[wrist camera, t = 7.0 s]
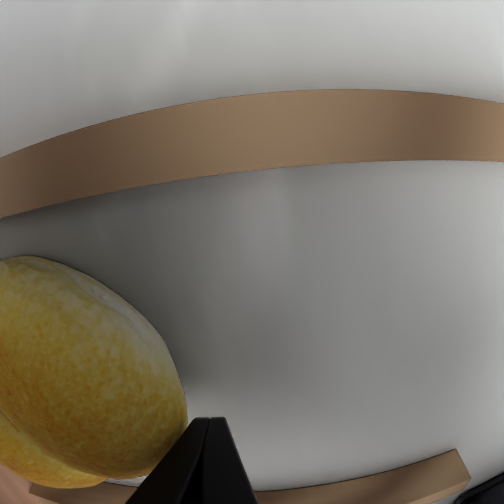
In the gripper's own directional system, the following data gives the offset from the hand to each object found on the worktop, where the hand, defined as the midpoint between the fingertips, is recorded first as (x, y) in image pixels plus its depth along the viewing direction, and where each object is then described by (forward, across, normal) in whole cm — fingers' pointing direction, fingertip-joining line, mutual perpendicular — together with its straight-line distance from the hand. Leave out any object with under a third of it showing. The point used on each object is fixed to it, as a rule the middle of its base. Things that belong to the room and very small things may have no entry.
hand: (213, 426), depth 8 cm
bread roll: (+2, +5, -1) cm, 6 cm away
